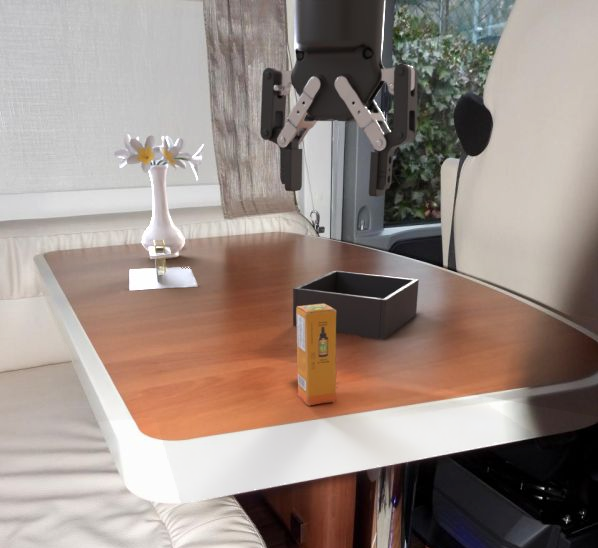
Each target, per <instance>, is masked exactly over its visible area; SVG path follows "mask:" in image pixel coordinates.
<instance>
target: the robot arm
mask: <svg viewBox="0 0 598 548" xmlns="http://www.w3.org/2000/svg"><path fill="white" fill-rule="evenodd" d="M385 11H386V0H294V28H293V29H294V31H293V33H294V37H293V40H294V41H293V42H294V44H293V46H294V52H295V63H294V66H293V67H292V70H284V69H280V68H277V67H276V68H275V67H266V68H264V70H263V71H262V76H261V77H262V78H261V81H262V82H261V103H260V104H261V106H260V127H259V128H260V129H259V130H260V131H259V133H260V134H259V135H260V136H261V138H262V140H265V141H270V142H272V143H273V144H276V145H277V146H278V148H279V179H280V182H281V183H280V184H281V185H284V190H285V191H286V192H297V191H302V186H303V148H299V147H300V145H301V143H302V142H303V140H304V138H305V137H306V136H307V134H308V132H309V131H310V130H312V129H313V128H314V126H315V125H316V124H317V123H318V122H335V121H337V122H356V124H357V125H358V127H359V129H361V130H362V131H363V132H364V133H365V135H366V136H367V139H368V140H369V142H370V144H371V145H372V147H373V148H374V151H371V152H370V162H369V163H370V164H369V181H368V195H369V197H382V196H384V195H385V192H386V190H389V189H390V187H391V185H392V179H393V162H394V153H395V150H396V149H397V148H398V147H401V146H404V145H406V144H410V143H413V142H414V141H415V140H416V137H417V118H418V117H417V116H418V84H419V83H418V82H419V81H418V78H419V76H418V75H419V70H418V68H417V67H415V66H414V65H411V64H406V63H398V64H397V65H396V66H393V67H384V65H383V61H382V54H383V46H384V29H385V13H386V12H385ZM385 84H386V86H387V90H388V92H389V94H390V95H392V96H393V119H392V120H393V126H392V128H393V129H392V131H391V129H390V127H389V126H388V124H387V122H386V118H385V116H384V114H383V112H382V111H381V109H380V107H379V105H378V104H377V102H376V100H375V98H376V97H377V95H378V93H379V92H380V90H382V88H383V86H384V85H385ZM292 87H293V88H294V90H295V93H296V94H297V96H298V99H297V100H296V102H295V104H294V106H293V107H292V109H291V110H290V112H289V113H288V115H287V118H286V108H287V96H288V95H289V94H290V92H291V88H292ZM286 119H287V121H286Z"/></svg>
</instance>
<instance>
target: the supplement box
mask: <svg viewBox="0 0 598 548" xmlns="http://www.w3.org/2000/svg"><path fill="white" fill-rule="evenodd" d="M296 320H297V326H296V362H297V394H298V397H299V398H300V400H302V402H303V403H305V404H306V406H308V407H309V406H314V405H320V404H327V403H335V402H336V400H337V397H336V395H337V393H336V392H337V389H336V383H337V380H336V379H337V378H336V377H337V376H336V375H337V373H336V372H337V369H336V368H337V364H336V363H337V332H336V310H335V309H333V308H332V307H330V306H328V305H326V304H315V305H306V306H297V308H296Z"/></svg>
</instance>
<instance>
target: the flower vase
mask: <svg viewBox="0 0 598 548" xmlns="http://www.w3.org/2000/svg"><path fill="white" fill-rule="evenodd" d="M123 144H124V147H125V148H119V149H117V150H115V152H114V154H113V156H114V157H115V158H118V159H121V160H120V162H119V164H118V168H119V169H122V168H123V167H125V165H126V164H128V165H137V164H140V168H141V171H142V172H143V173H145V174H147V173H149V177H150V181H151V190H152V217H151V220H150V224H149V225H148V226H147V228H146V229H145V230H144V232H143V234H142V236H141V245H142V246H143V248H144V250H146V251H147V252H149V247H154V240H163V241H164V244H165V247H169V248H170V251H171V256H170V257H165V258H166V259H167V260H168V259H174V258H178V257H179V255H180V251H181V250H182V249H183V248H184V246H185V244H186V239H185V236H184V234H183V232H182V231H181V230H180V229H179V228H178V227H177V226H176V225H175V223H174V221H173V219H172V217H171V213H170V209H169V202H168V193H167V192H168V191H167V176H168V175H167V173H168V169H169V167H171V169H173V170H174V171H176V170H177V167H178V168H181V169H183V170H186V169H187V164H186V162H188V163H189V164H190V167H191V169H192V171H193V173H194V175H195V176H194V177H195V178H196V181H198V180H199V166H200V165H201V164H202V161H203V155H202V152H203V150H204V149H203V148H204V145H205V143H203V144H202V145H201V146H200V148H199V149H198V150H197V152H196V153H194V155H192V154H191V153H189V152H188V151H187V152H186V151H183V150H184V149H185V139H184V138H182V137H178V138H177V139H176V141H175V143H174V141H173V140H172V138H171V137H170V136H169V135H166V136H164V135H162V136H161V144H160V145H156V137H155V136H154V135H153V134H151V135H149V136H146V137H145V140H144V144H142V143H141V141H140V137H139V136H136V137H135V138H132V137H131V136H130V134H129V133H126V134H125V135H124V139H123ZM155 245H156V246H158V247H163V242H155ZM157 253H164V251H157ZM160 259H164V258H160Z"/></svg>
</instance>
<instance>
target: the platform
mask: <svg viewBox="0 0 598 548" xmlns="http://www.w3.org/2000/svg"><path fill="white" fill-rule="evenodd" d="M155 242H163V247H158V246H156V245H155ZM157 251H164V253H157ZM148 254H149V259H150V260H154V263H155V264H154V265H155V268H134V269H133V268H132V269H131V268H130V269H129V291H138V290H140V291H141V290H161V289H175V288H176V289H179V288H193V287H194V288H196V287H199V286H198V283H197V280H196V278H195V276H194V273H193V271H192V269H190V268H191V267H190V266H177V267H175V266H174V267H167V262H166V258H165V257H170V256H171V251H170V248H169V247H165V244H164V241H163V240H154V247H149V251H148ZM160 258H164V259H160ZM181 267H182V268H183V267H185V268H186V267H188V268H189V267H190V268H189V269H188V268H186V269H185V268H183V269H182V268H181Z"/></svg>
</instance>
